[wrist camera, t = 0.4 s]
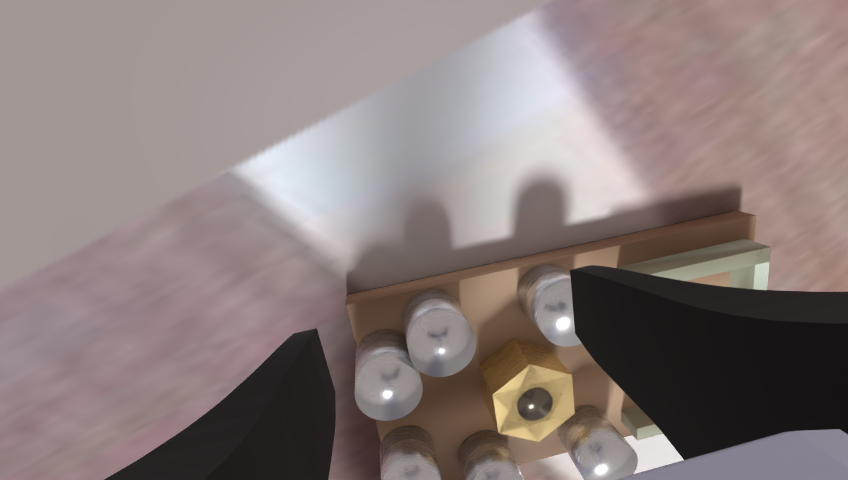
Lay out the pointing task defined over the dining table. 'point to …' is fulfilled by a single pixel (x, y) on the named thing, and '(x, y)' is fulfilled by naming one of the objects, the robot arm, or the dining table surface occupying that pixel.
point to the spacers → (450, 353)
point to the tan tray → (504, 319)
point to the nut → (526, 390)
